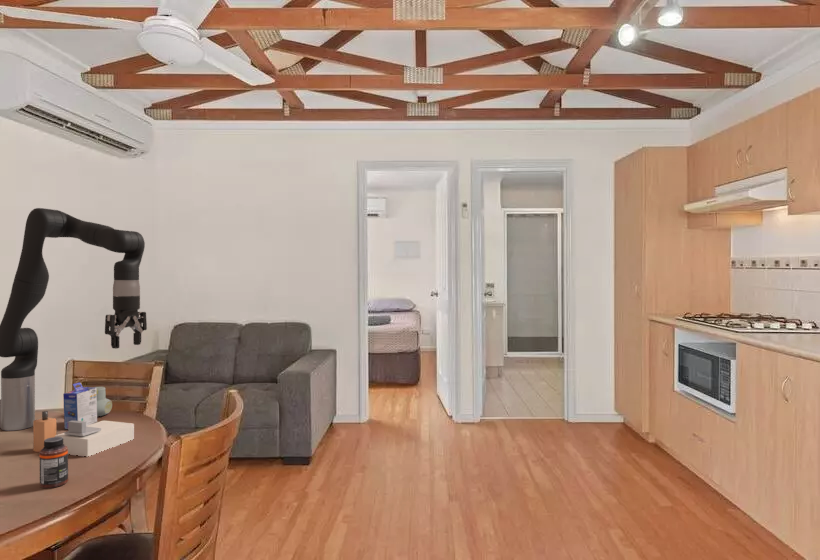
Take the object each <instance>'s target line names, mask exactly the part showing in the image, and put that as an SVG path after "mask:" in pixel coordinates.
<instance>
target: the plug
mask: <svg viewBox="0 0 820 560" xmlns="http://www.w3.org/2000/svg"><path fill="white" fill-rule="evenodd" d="M41 415H42V416H41V418H37V419H35V420H34V421H33V426H32V428H33V433H32V434H33V436H32V437H33V452H36V453H40V451H41V450H42V449H43V448H44V440H45V439H48V438H52V437H55V435H57V418H53V417H49V411H48V410H43V411H41Z"/></svg>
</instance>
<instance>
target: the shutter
mask: <svg viewBox="0 0 820 560" xmlns="http://www.w3.org/2000/svg"><path fill="white" fill-rule="evenodd" d="M98 431H101V428H95V427H86V422H82V421H73V420H72V421H69V422H68V429H67V431H64V432H63V433H64V434H67V435H75V436H86V435H89V434H92V433H95V432H98Z"/></svg>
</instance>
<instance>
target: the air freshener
mask: <svg viewBox="0 0 820 560" xmlns="http://www.w3.org/2000/svg"><path fill="white" fill-rule="evenodd" d="M94 388H96V395H97V418H99V416H100V417H104V416H106V415H108V414H109V413H110V412H111V410H112V408H113V401H112V400H111V399H109V398H107V397H106V393H107V392H106V387H105V386H94Z"/></svg>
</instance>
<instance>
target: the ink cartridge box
mask: <svg viewBox="0 0 820 560" xmlns="http://www.w3.org/2000/svg"><path fill="white" fill-rule="evenodd" d="M71 385H72V387H73V390H70V391H68V392H65V393H63V417H64V418H63V419H64V421H63V422H64V430H68V422H69V421H72V420H73V421H82V422H86V426H87V425H90V424H94V423H97V422H98V417H97V395H96V388H94V387H95V386H94V387H93V386H91V387H89V386H87V387H86V386H85V387H84V386H83V385H82V383H81V382H76V383H72V384H71Z"/></svg>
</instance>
